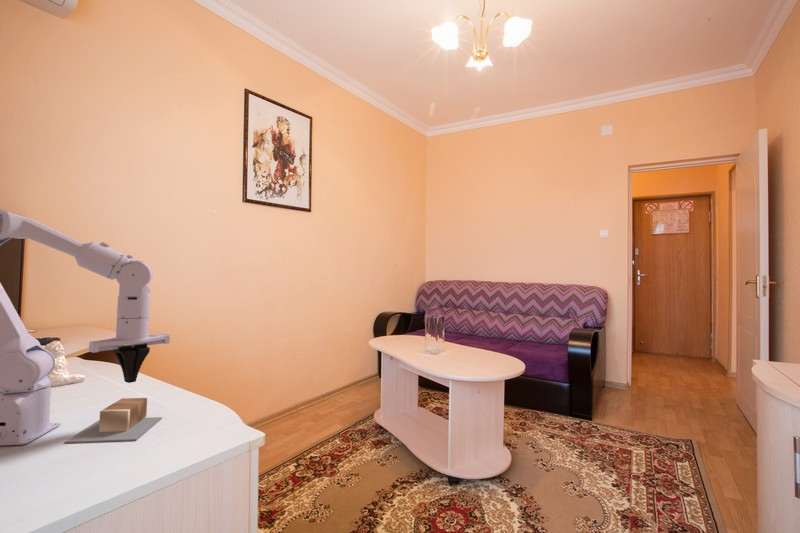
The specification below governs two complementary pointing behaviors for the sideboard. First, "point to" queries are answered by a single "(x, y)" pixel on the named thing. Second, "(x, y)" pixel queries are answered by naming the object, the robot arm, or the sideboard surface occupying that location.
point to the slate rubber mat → (114, 432)
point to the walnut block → (123, 414)
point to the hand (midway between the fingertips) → (130, 381)
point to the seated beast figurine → (61, 367)
